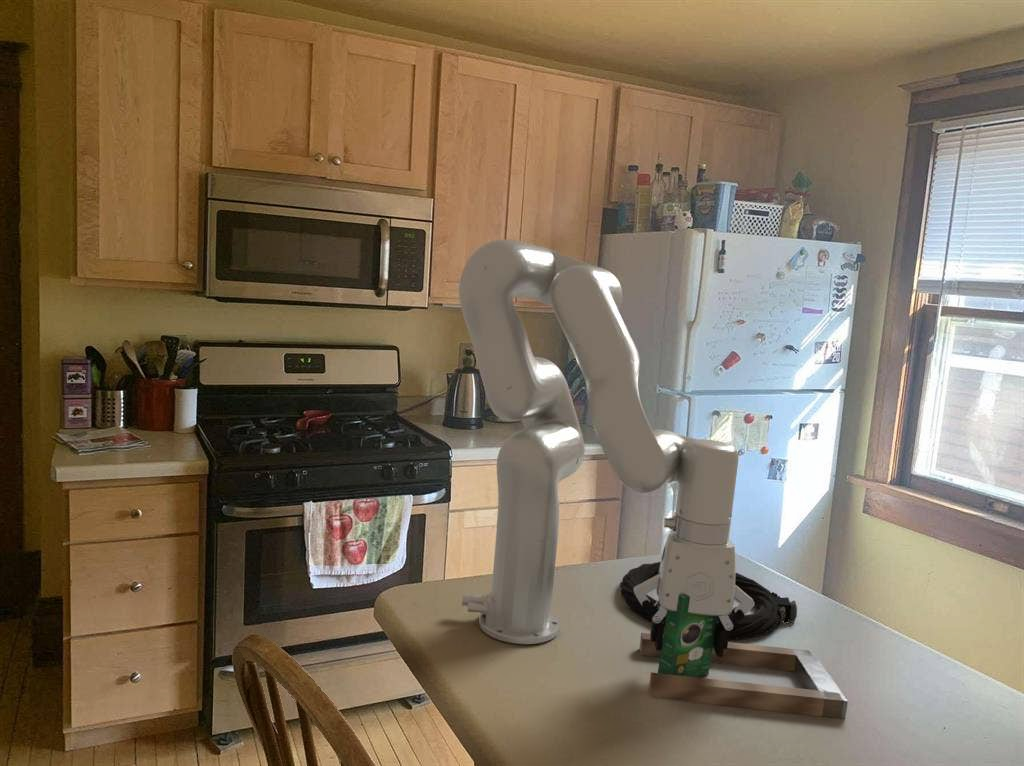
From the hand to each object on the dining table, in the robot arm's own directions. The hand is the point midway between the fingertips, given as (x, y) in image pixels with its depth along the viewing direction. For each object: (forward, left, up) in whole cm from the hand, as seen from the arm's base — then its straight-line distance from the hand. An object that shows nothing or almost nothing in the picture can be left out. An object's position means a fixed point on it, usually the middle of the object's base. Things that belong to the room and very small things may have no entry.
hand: (687, 648), depth 108 cm
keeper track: (+7, 0, -4) cm, 8 cm away
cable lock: (+8, +26, -5) cm, 28 cm away
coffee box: (0, 0, -4) cm, 4 cm away
